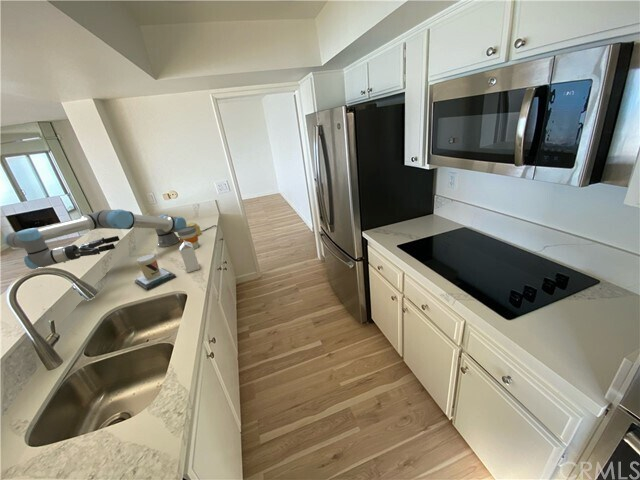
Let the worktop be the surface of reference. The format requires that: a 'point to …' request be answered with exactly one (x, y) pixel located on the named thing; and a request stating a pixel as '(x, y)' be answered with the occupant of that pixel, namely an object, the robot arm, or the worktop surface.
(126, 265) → the worktop surface
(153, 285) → the scale
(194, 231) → the reusable coffee cup
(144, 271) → the coffee cup
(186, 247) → the milk carton
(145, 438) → the worktop surface
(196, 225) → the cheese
